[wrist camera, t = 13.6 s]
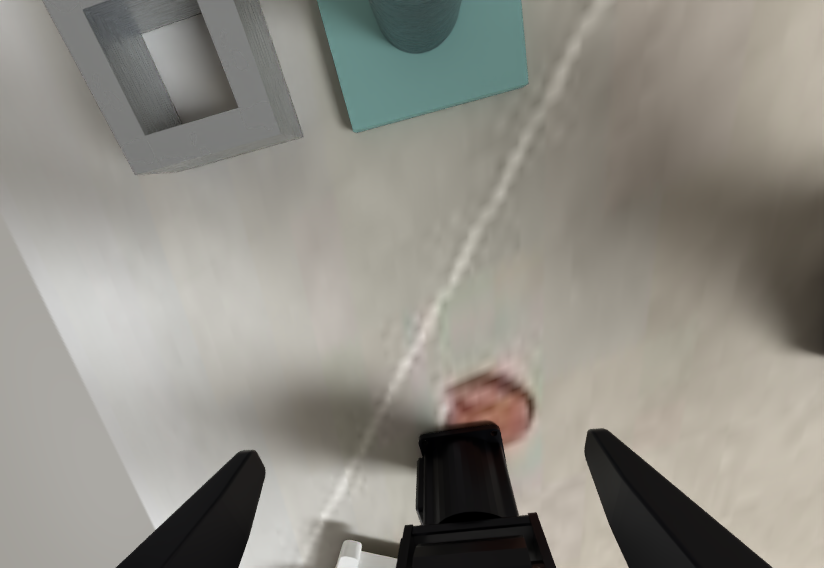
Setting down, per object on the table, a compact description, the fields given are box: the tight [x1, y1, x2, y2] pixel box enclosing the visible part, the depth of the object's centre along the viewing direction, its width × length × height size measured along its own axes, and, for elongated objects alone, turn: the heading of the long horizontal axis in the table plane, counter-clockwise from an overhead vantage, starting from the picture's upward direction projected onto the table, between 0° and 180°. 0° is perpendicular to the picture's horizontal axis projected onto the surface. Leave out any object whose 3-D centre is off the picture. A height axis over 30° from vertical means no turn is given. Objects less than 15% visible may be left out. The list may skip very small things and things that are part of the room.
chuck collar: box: [42, 0, 304, 175], centre depth 16 cm, size 8×8×3 cm
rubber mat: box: [317, 0, 528, 133], centre depth 15 cm, size 9×9×1 cm
